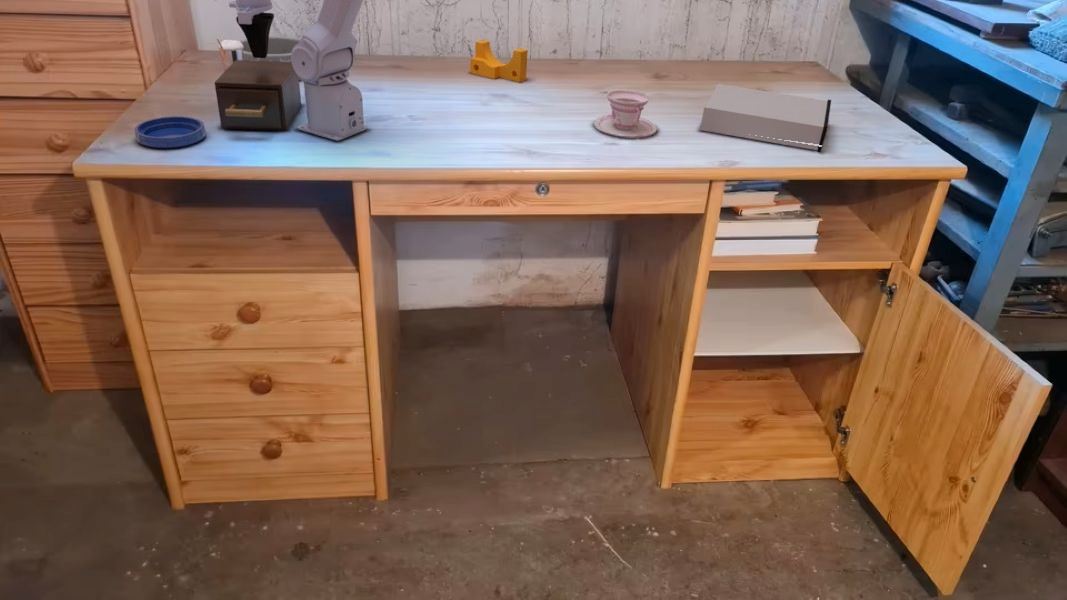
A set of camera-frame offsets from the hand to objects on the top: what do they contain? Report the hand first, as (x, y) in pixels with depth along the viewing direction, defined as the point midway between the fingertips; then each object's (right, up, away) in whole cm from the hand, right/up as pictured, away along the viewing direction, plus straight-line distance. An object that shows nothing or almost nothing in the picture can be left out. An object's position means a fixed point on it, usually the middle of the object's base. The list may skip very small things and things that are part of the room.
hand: (260, 57), depth 140 cm
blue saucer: (-12, -16, -9) cm, 22 cm away
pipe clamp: (+41, +6, +33) cm, 53 cm away
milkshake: (-10, -2, +16) cm, 19 cm away
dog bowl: (-6, +5, +27) cm, 28 cm away
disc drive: (+94, -10, +14) cm, 96 cm away
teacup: (+66, -11, +9) cm, 68 cm away
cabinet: (0, -10, +3) cm, 10 cm away
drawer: (0, -11, -1) cm, 11 cm away
